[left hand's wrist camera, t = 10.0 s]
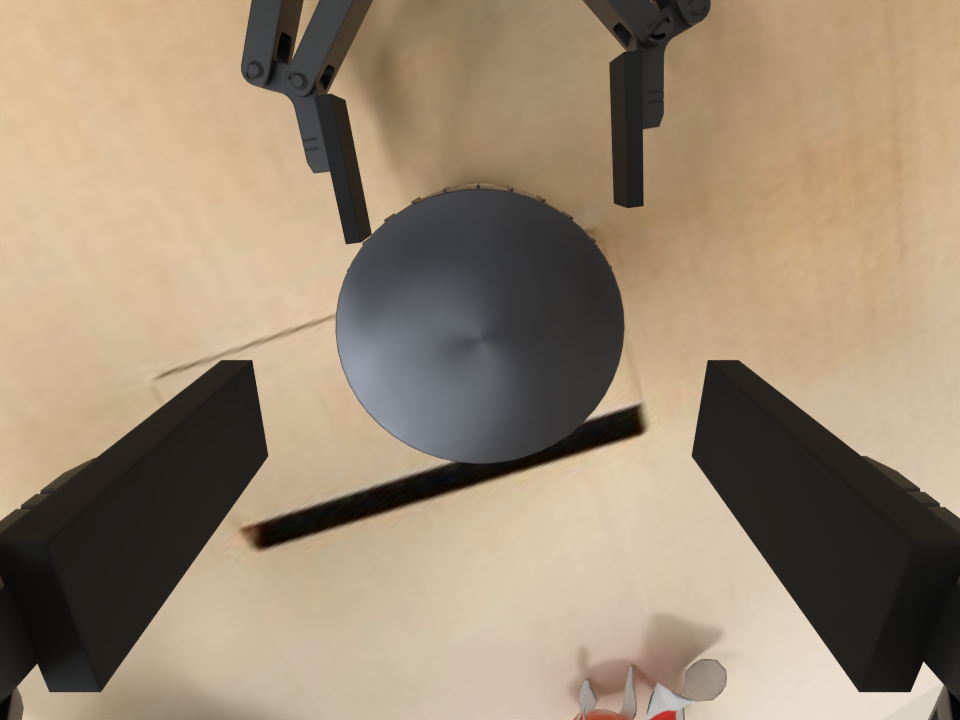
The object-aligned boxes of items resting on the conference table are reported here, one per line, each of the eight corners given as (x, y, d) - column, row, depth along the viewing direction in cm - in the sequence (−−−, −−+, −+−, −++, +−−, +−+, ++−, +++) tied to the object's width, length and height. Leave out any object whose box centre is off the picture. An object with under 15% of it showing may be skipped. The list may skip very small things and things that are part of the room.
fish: (526, 691, 41) (610, 841, 34) (677, 588, 46) (778, 700, 39) (532, 733, 48) (602, 866, 41) (663, 640, 52) (746, 743, 45)
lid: (451, 474, 23) (447, 509, 21) (294, 287, 20) (271, 304, 18) (656, 350, 21) (677, 374, 19) (516, 121, 18) (522, 116, 16)
